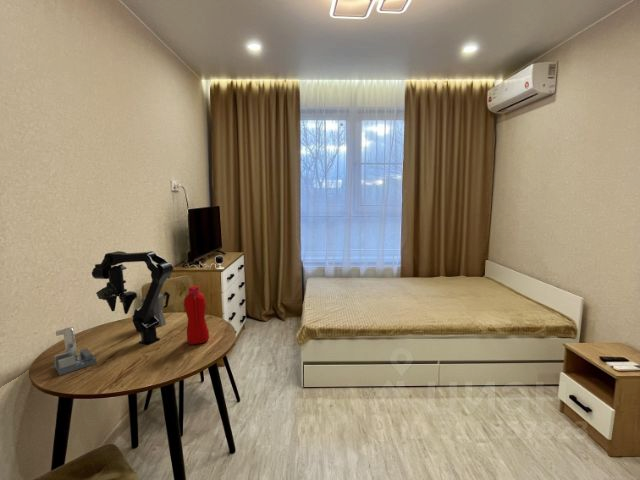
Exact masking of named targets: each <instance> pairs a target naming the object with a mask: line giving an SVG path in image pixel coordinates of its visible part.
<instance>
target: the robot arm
mask: <svg viewBox="0 0 640 480" xmlns="http://www.w3.org/2000/svg"><path fill="white" fill-rule="evenodd" d="M138 262H139V263H140V262H144V263H145V265H146V267H147V269H148V271H150V277H151V283H150V285H149V287H148V290H147V292H146V295H145V296H144V297H145V300H144V303H143V302H142V305H141V306H140V307H138V308H136V309H135V310H134V312H133V314H132V323H133V325H134V328H135V329H136V332H137V333H140V340H139V341H138V343H139V344H141V345H147V346H148V345H151V344H153V343H156V342H158V341H159V340H161V338H160V337H158V336H157V327H156V328H155V326H158V325H159V320H158V319H157V318H156V317H155V316H154V314H155V312H154V306H155V303H156V301H157V298H158V296H159V294H160V293H161V291H162V289H163V286H164V283H165V282H166V281H167V280H168V279H169V278H170V276H171V274H173V272H174V267H173V265H172V263H171V262H169V261H168V260H167V259H165V258H164V257H162V256H160V255H158V254H157V253H156V252H155V251H152V250H151V251H143V252H129V253H127V252H125V251H120V250H117V251H111V252H107V253H105V255H104V256H103V259H102V261H101V262H100V263H96V264H94V268H93V269H92V271H91V275H92V278H94V279H96V280H99V279H100V280H108V282H106V286H105V287H103V288H101V289H99V290H98V291H97V292H96V293H95V294H96V296H97V297H98V300H102V301H106V303H107V305H108V306H109V308H110V310H111V312H115V310H116V305H117V300H118V299H119V302H120V303H121V304H122V309H123V312H124V315H127V314H128V313H129V311H130V310H131V309H130V308H131V307H132V304H133V301H134V300H136V299H137V298H138V295H137V294H138V293H137V292H135V291H131V290H129V291H128V289H126V288H125V284H126V283H127V280H125V279H124V271H123V270H126V269H127V267H126V266H125V265H124V264H123V263H138ZM155 263H156V264H155ZM117 298H118V299H117ZM148 323H149V324H148ZM147 324H148V325H147Z"/></svg>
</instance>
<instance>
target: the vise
mask: <svg viewBox="0 0 640 480" xmlns="http://www.w3.org/2000/svg"><path fill="white" fill-rule="evenodd" d="M96 364H97V358H96V357H95V356H94V355H93V353H92V352H91V351H90V350H89V349H88V348H83V349H79V354H77V355H76V356H71V352H70V351H68V352H66V351H64V352H61V353H58V354H55V355H54V362H53V368H54V369H55V370H56V372H57V374H58V375H59V376H63V375H66V374H69V373H72V372H75V371H77V370H81V369H84V368H87V367H89V366H93V365H96Z"/></svg>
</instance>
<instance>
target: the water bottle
mask: <svg viewBox="0 0 640 480" xmlns="http://www.w3.org/2000/svg"><path fill="white" fill-rule="evenodd" d="M206 300H207V299H206V297H205V295H204V294H203V293H201V292H200V286H198V285H192V286H189V287H188V294H187V295H185V297H184V300H183V306H184V310H185V314H186V316H187V327H186V341H187V343H188V344H189V345H198V344H203V343H206V342H208V341H209V339H210V335H209V334H210V332H209V329H208V328H209V327H208V325H207V322H206V318H205V316H206V309H207V301H206Z"/></svg>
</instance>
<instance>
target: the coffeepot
mask: <svg viewBox="0 0 640 480" xmlns="http://www.w3.org/2000/svg"><path fill="white" fill-rule="evenodd" d="M170 296H171V295H170V293H169V292H168V291H164V292H160V293H159V296H158V298H157V301H156V303H155V306H154V312H155V314H154V316H155V317H156V318H157V319H158V320H159V325H158V326H155V328H156V329H157V328H160V327H162V326H163V327H164V326H165V325H166V323H167V322H166V318H165V315H164V311H163V309H166V308H168V306H169V301H170ZM145 297H146V296H143V298H141V299H140V302H142V304H143V303H144V300H145ZM164 297H166V298H165V303H164ZM164 304H165V305H164ZM148 324H149V323H148ZM148 324H146V325H148Z"/></svg>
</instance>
